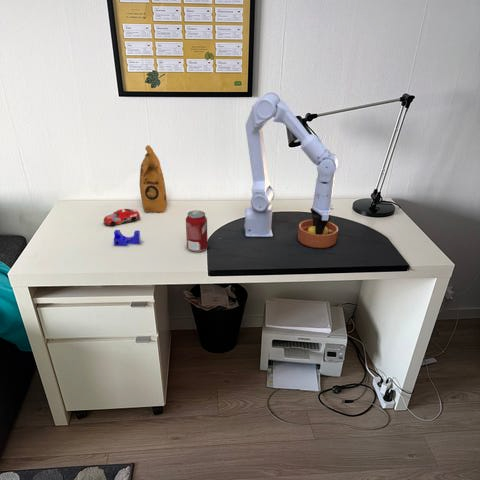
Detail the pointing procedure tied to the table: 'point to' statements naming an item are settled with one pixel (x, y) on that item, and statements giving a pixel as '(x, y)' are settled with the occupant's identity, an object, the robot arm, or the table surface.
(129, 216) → the race car
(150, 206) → the coffee package
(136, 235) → the cable holder
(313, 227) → the yellow squeeze bottle
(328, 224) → the basin
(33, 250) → the table surface
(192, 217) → the soda can
